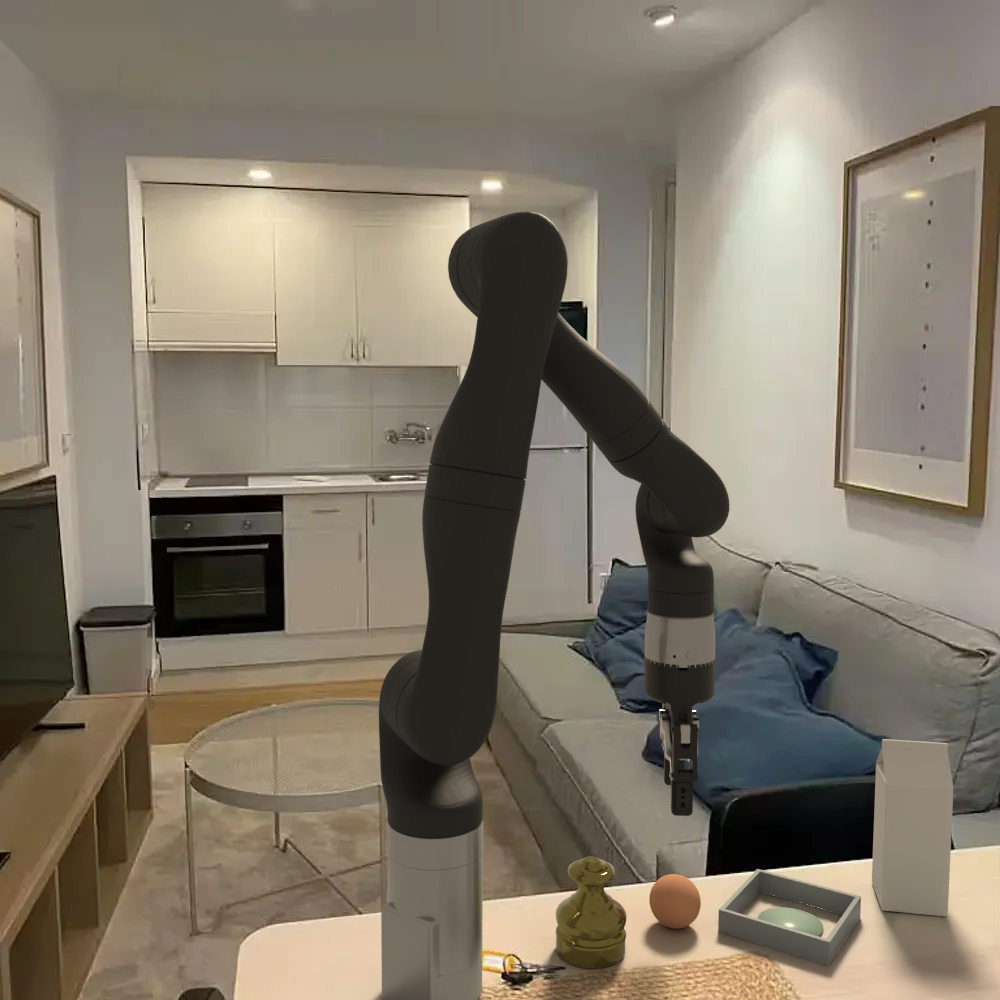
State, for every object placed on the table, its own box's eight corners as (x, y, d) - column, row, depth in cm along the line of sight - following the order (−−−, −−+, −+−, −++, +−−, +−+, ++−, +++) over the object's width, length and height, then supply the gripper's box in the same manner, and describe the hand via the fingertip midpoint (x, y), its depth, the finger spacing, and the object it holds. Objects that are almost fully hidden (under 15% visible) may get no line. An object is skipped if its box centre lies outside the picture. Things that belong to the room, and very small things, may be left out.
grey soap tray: (828, 965, 104) (829, 942, 103) (718, 931, 110) (718, 909, 110) (860, 917, 114) (861, 896, 113) (756, 889, 120) (757, 868, 120)
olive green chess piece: (640, 951, 106) (641, 859, 106) (596, 979, 101) (597, 882, 100) (585, 926, 112) (586, 838, 111) (540, 951, 106) (541, 860, 105)
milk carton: (947, 918, 114) (955, 753, 112) (881, 911, 115) (887, 749, 113) (934, 889, 121) (940, 734, 119) (871, 883, 122) (877, 729, 120)
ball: (687, 943, 108) (688, 893, 107) (640, 928, 111) (641, 879, 110) (708, 922, 112) (709, 873, 112) (662, 908, 116) (663, 860, 115)
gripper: (640, 638, 116) (639, 774, 118) (649, 669, 102) (647, 824, 104) (706, 639, 116) (704, 776, 117) (724, 671, 102) (721, 826, 103)
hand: (677, 798), depth 110 cm, fingers open, 8 cm apart
